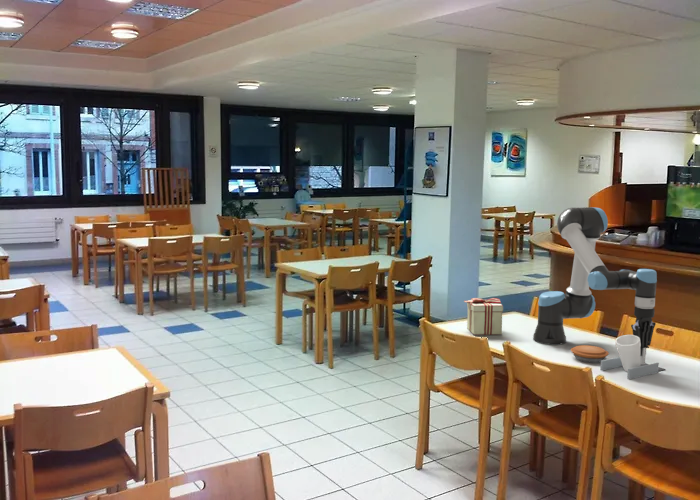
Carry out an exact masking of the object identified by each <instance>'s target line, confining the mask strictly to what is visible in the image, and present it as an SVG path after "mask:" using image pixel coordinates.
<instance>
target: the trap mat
mask: <svg viewBox="0 0 700 500" xmlns="http://www.w3.org/2000/svg"><path fill="white" fill-rule="evenodd" d="M648 364H649V363H647V362H645V364H641V363H640V366H644V365H648ZM663 371H666V368H662V367H659V366H658V373H659V372H663Z"/></svg>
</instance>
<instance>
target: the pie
mask: <svg viewBox="0 0 700 500" xmlns="http://www.w3.org/2000/svg"><path fill="white" fill-rule="evenodd" d="M570 351H571V353H572V354H573V356H574V358H575V359H576V360H578V361H580V362H584V363H595V364H597V363H601V360H605V358H607V356H608V355H610V353H609V351H607V350H606V349H604V348H602V347H601V346H596V345H587V344H585V345H584V344H583V345H582V344H581V345H576V346H574V347H572V348H570Z"/></svg>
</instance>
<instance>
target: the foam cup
mask: <svg viewBox="0 0 700 500" xmlns="http://www.w3.org/2000/svg"><path fill="white" fill-rule="evenodd" d="M614 341H615V343H614V344H615V348H616V349H617V352H618V355H619V356H618V357H620V359H621V362H622V365H623V366H622V368H623V370H624V371H625V372H626V373H628V369H630V368H634V367H639V366H640V346H641V343H640V338H639V337H638V336H635V335H633V334H625V335H624V334H623V335H620V336H618V337H617V338H616V339H614Z"/></svg>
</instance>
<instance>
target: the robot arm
mask: <svg viewBox="0 0 700 500" xmlns="http://www.w3.org/2000/svg"><path fill="white" fill-rule="evenodd" d="M608 221H609V220H608V216H607V214H606V211H604V209H602V208H600V207H593V206H591V207H590V206H589V207H586V206H585V207H568V208H566V209H564V210H563V211H561V213H560V214H559V216H558V217H557V223H556V227H557V230H558V233H559V235H560V237H561V238H562V239H564V240H566V242H567V243H568V245H570V247H571V249H572V250H573V252H574V257H573V263H572V269H571V278H570V283H569V284H570V285H569V286H568V287H567V288H566V289H565V293H564V292H563V291H560V290H559V291H558V290H555V291H554V290H551V291H544V292H541V294H540V295H539V296H538V302H537V305H538V309H537V311H538V312H537V325H536V327H535V330H534V332H533V335H532V336H533V337H532V340H533V341H534V342H537V343H539V344H540V343H541V344H545V345H564V344H566V342H567V336H566V332H565V329H564V320H566V319H584V318H588V317H590V316H592V315H593V313H594V311H595V310H596V301H595V300H596V299H595V297H594V296H593V295H592V290H596V291H597V290H598V291H603V290H627V289H629V290H633V291H635V295H634V296H635V297H634V311H633V313H634V314H633V315H634V316H635V323H634V324H631V325H630V326H631V327H630V328H631V329H632V335H635V336H638V337H639V338H640V343H641V346H640V363H641V364H645V363H646V355H647V349H649V348H650V346H651V343H652V339H653V334H654V329H655V327H656V325H657V324H656V322H653V319H652V318H654V317H655V307H656V295H657V294H656V293H657V282H658V280H657V278H658V276H657V275H658V274H657V271H656V270H655V269H650V268H639V269H637V271H634V270H630V269H619V270H615V271H614V270H609V269H608V268H607V267H606V265H605V264H604V262H603V261H602V259H601V257H600V256H599V255H598V253H597V252H596V242H597V241H598V240H599V239H600V238H601V234H603V233H605V231H607V229H608V224H609V222H608ZM590 289H592V290H590Z"/></svg>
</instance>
